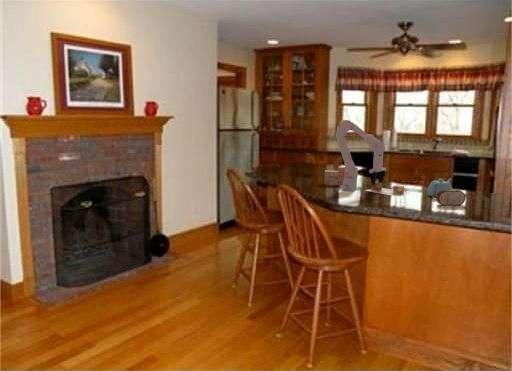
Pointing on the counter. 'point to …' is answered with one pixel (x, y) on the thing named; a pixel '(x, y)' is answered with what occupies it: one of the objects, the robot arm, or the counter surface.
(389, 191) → the board
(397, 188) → the maple block
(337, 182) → the stack of blocks
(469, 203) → the counter surface
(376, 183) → the walnut block
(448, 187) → the teapot
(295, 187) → the counter surface
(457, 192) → the tin
